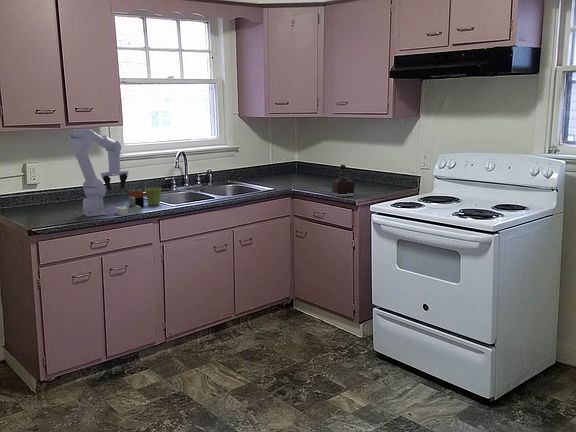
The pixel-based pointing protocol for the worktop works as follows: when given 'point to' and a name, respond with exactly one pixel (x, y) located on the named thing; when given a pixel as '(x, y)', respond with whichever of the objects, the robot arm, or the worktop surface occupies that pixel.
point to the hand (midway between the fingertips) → (115, 189)
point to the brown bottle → (342, 183)
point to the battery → (137, 197)
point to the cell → (131, 202)
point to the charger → (128, 210)
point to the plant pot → (153, 195)
